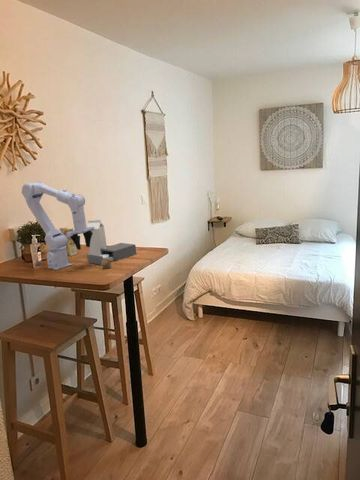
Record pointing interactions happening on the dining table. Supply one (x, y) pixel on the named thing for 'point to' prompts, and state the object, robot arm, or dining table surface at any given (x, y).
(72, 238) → the robot arm
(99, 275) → the dining table surface
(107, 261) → the brown cylinder
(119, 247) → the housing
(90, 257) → the grey drawer
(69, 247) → the candy box
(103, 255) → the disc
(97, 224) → the milk carton
